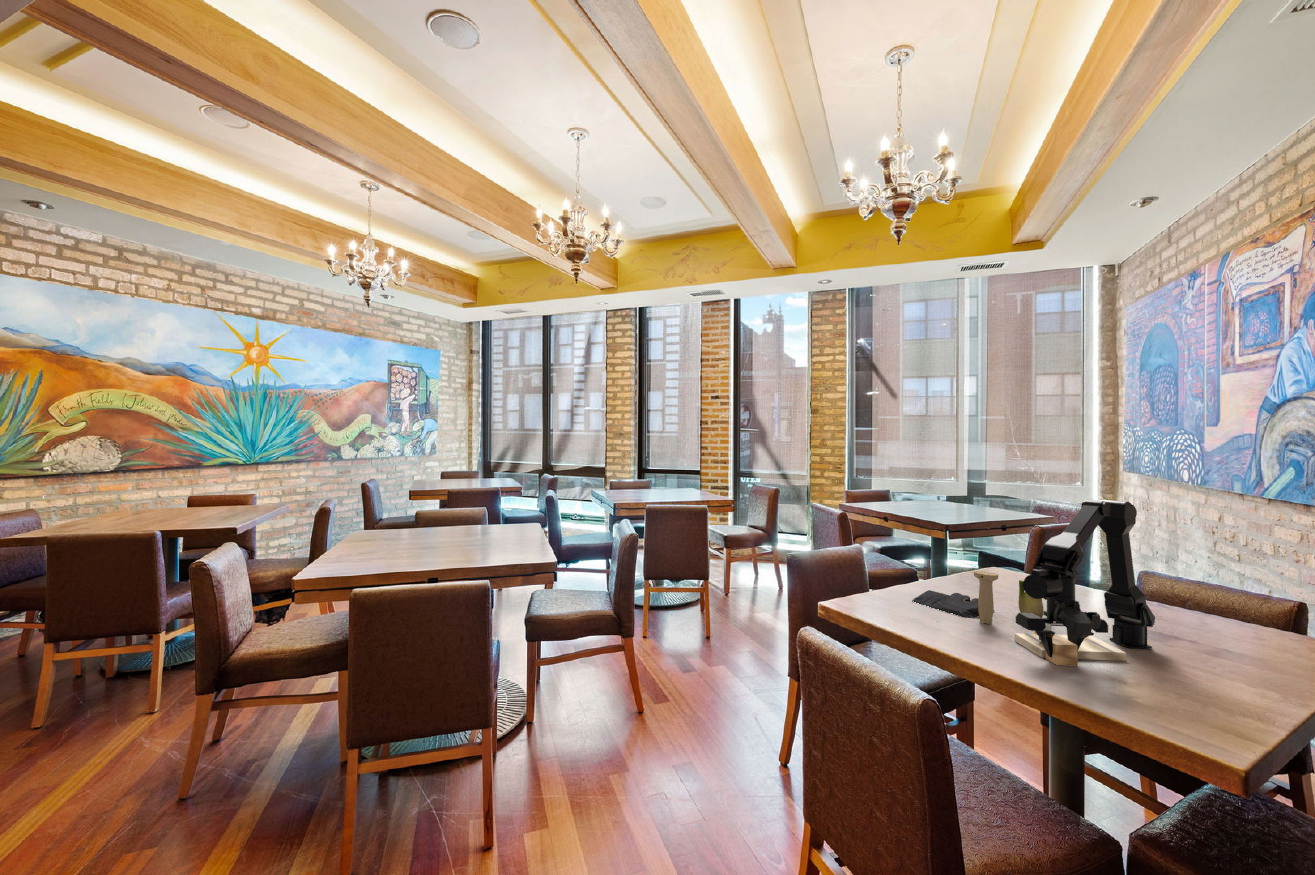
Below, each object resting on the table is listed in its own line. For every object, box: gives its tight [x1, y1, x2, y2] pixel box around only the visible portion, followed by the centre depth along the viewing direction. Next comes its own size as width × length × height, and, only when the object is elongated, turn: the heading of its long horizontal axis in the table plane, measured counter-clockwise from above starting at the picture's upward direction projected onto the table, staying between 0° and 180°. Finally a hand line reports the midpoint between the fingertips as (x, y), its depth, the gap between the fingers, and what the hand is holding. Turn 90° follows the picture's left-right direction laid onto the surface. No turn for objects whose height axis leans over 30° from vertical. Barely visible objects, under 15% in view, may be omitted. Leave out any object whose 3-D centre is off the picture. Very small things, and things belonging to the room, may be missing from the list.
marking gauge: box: [1034, 631, 1078, 667], centre depth 138 cm, size 5×11×5 cm, turn 176°
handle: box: [973, 570, 999, 625], centre depth 165 cm, size 5×6×15 cm
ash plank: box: [1014, 632, 1127, 662], centre depth 143 cm, size 20×12×2 cm, turn 86°
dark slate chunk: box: [911, 590, 979, 619], centre depth 181 cm, size 15×22×5 cm
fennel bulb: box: [1018, 579, 1044, 618], centre depth 168 cm, size 6×5×12 cm
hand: (1061, 657), depth 135 cm, fingers closed on marking gauge, 5 cm apart
